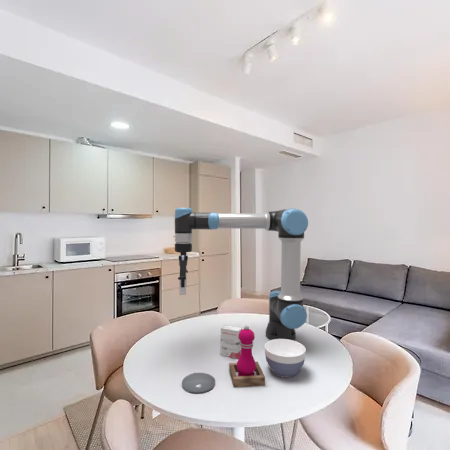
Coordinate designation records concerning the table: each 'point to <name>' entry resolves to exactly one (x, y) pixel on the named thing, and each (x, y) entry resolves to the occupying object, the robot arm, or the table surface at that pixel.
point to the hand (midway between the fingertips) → (183, 290)
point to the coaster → (198, 383)
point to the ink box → (230, 342)
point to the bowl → (285, 356)
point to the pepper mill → (246, 353)
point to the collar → (246, 377)
